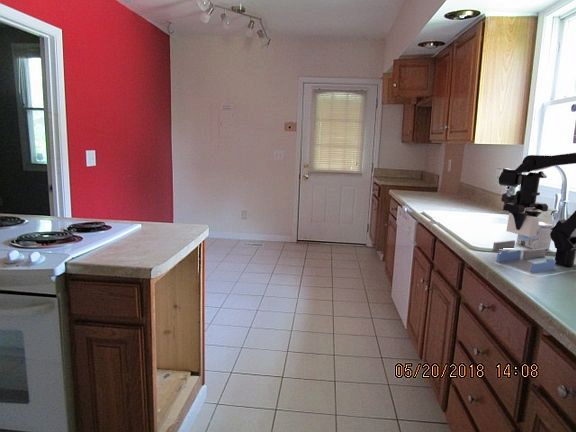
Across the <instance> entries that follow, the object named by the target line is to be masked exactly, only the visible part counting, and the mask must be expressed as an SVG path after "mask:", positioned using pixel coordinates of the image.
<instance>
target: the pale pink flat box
mask: <svg viewBox="0 0 576 432" xmlns="http://www.w3.org/2000/svg"><path fill="white" fill-rule="evenodd" d="M507 218H508V220H507V225H506V230H505V231H506V232H509V233H513V234H515V235H516V234H517V235H518V234H520V235H524V236H528V237H532V236H536V235H537V230H538V224H539V222H540V219H541V218H540V217H539V216H538V217H533V216H528V215H527V216H526V218H525V220H524V222H523V224H522V226H521V228H520V230H517V229H516V225H515V220H514V217H513V215H512V214H511V213H509V214H508V217H507Z"/></svg>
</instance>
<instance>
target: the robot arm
mask: <svg viewBox="0 0 576 432" xmlns="http://www.w3.org/2000/svg"><path fill="white" fill-rule="evenodd" d="M573 164H576V152H573V153H571V152H570V153H562V154H555V155H541V154H539V155H538V154H536V155H535V154H530V155H526V156H525V157H524V158H523V160H522V163H520V165H518V166H517V167H516V168H515V169H511V168H508V167H507V168H503V169H502V171H501V173H500V175H499V177H498V184H499V186H501V187H510V188H517V187H518V186H520V187H519V190H516V192H515V194H510V193H508V192H507V193H502V195H501V198H500V201H501V202H503V205H502V211H504V212H508V213H509V214H512V215H513V217H514V220H515V225H516V229H517V230H520V228H521V226H522V224H523V222H524V220H525V218H526V216H527V215H528V216H533V217H538V218H539V216H540V215H541V214H542V212H548V210H549V205H548V204H547V203H543V202H538V201H537V197H538V196H540V195H541V192H538V191H539V186H540V185H539V184H540V181H541V180H540V179H547V177H548V176H547V175H546V173H544V171H542V170H546V169H550V168H552V167H555V166H565V165H573ZM534 171H535V172H534ZM537 171H538V172H537ZM523 173H527V174H523ZM551 230H552V231H551V233H550V237H551V242H553V244H554V248H555V250H556V251H555V256H554V260H556V264H555V265H556V266H560V267H564V268H567V269H568V268H569V269H570V268H574V267H576V263H575V261H576V210H574V212H572V214H571V215H570V216H569V218H567V219H565V218H563V219H559V220H558V221H556V223H555V225H554V227H553V228H552V229H551Z"/></svg>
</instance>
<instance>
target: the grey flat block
mask: <svg viewBox="0 0 576 432" xmlns="http://www.w3.org/2000/svg"><path fill="white" fill-rule="evenodd" d="M492 245H493V247H492V250H493V251H496V252H497V253H501V250H499V249H503V248H515V245H516V240H514V239H513V240H503V241H495V242H493V244H492ZM509 251H510V250H508V252H509ZM546 251H547V250H546V249H545V248H542V249H528V250H524V251H521V255H520V259H523V260H530V259H537V258H543V257H545V255H546Z"/></svg>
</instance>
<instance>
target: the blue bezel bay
mask: <svg viewBox="0 0 576 432" xmlns="http://www.w3.org/2000/svg"><path fill="white" fill-rule="evenodd" d="M520 250H521V249H520ZM520 250H517V251H509V252H508V250H501V252H497V256H496V262H497V263H499V264H503V265H506V266H509V267H512V268H515V269H518V270H521V271H524V272H527V273H530V274H534V273H540V272H546V271H552V270H555V268H556V265H557V264H556V260H555V259H554V258H551V257H550V258H546V260H544V261H539V262H538V261H537V262H533V261H529V260H527V259H522V258H520V255H521V251H520Z"/></svg>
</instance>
